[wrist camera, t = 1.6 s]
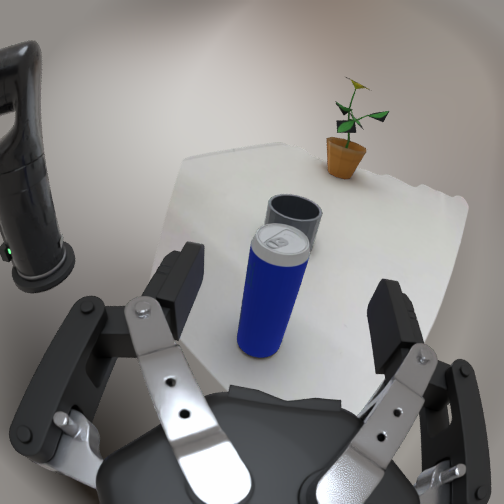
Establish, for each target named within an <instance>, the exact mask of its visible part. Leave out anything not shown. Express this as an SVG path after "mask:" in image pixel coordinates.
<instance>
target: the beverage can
mask: <svg viewBox="0 0 504 504" xmlns="http://www.w3.org/2000/svg"><path fill="white" fill-rule="evenodd" d="M309 256H310V248H309V240H308V238H307V237H306V235H305V234H304V233H303V232H301V231H300V230H298V229H296V228H294V227H292V226H289V225H285V224H277V223H273V224H266V225H264V226H261V227H260V228H259V229H258V230H257V232H256V234H255V236H254V237H253V239H252V241H251V246H250V253H249V260H248V266H247V273H246V280H245V286H244V293H243V300H242V307H241V313H240V320H239V327H238V333H237V342H238V345H239V347H240V348H241V349H242V350H243V351H244V352H245V353H247V354H248V355H250V356H253V357H258V358H263V357H268V356H271V355H273V354H274V353H276V352H277V350H278V349H279V347H280V345H281V342H282V339H283V336H284V333H285V330H286V327H287V324H288V321H289V318H290V315H291V313H292V310H293V306H294V303H295V300H296V297H297V294H298V291H299V288H300V285H301V282H302V279H303V275H304V272H305V269H306V266H307V263H308V259H309Z"/></svg>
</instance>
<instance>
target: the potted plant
mask: <svg viewBox="0 0 504 504" xmlns="http://www.w3.org/2000/svg"><path fill="white" fill-rule="evenodd" d="M351 81H352V83H353V85H354V87H355V91H356V89H360V88H366V87H364V86H363V85H361V84H358V83H357V82H355V81H353V80H351ZM366 89H368V88H366ZM354 94H355V92H354ZM354 94H353V96H352V99H351V103H352V100H353V97H354ZM351 103H350V106H349V108H346V107H343V106H342V105H340V104H339V103H337V102H336V105H337V106H339V108H340V110H341V112H342V113H343V115H345V114H347V113H348V120H347V121H346V120H343V121H337V133H348V140H345V139H340V138H335V137H330V138H327V160H328V161H327V162H328V172H329V173H330V174H331V175H333V176H335V177H338V178H342V179H350V178H351V176H352V174H353V173H354V171H355V170H356V168H357V166H358V164H359V163H360V161H361V160H362V158H363V156H364V155H365V153H366V148H364V147H362V146H361V145H359V144H357V143H354V142H351V141H350V133H356V127H355V122H356V123H357V124H358V125H359V126H360V127H361V128H362V126H361V124H360V122H359V121H358V120H360V119H362V118H364V117H366V116H369V117H372V118H374V119H376V120H379V121H382V122H384V120H385V118H386V116H387V114H388V113H389V111H385V112H378V113H373V114H370V115H366V116H364V117H361V118H359V119H356V118H355V117H354V116H353V114H351V116H352V118H353V120H352V119H349V116H350V111H351V112H352V109H350V107H351Z"/></svg>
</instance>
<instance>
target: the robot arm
mask: <svg viewBox="0 0 504 504" xmlns="http://www.w3.org/2000/svg"><path fill="white" fill-rule="evenodd" d="M41 78H42V54H41V49H40V46H39V45H38V43H37V42H36V41H32V40H31V41H26V42H21V43H18V44H15V45H11V46H8V47H5V48H2V49H0V116H2V115H5V114H8V113H11V112H15V122H14V125H13V127H12V128H11V129H10V130H9V132H8V133H7V134H6V135H4V136H3V137H2V138H1V139H0V232H1V235H2V238H3V241H4V243H3V244H2V245H1V246H0V255H1V257H2V260H3V261H6V262H10V261H12V264H13V266H14V269H16V270H17V272H18V274H19V276H20V277H21V278H22V279H24V280H26V281H31V282H34V281H40V280H43V279H46V278H48V277H50V276H52V275H53V274H55V273H56V272H57V271H58V270H59V269H60V268H61V267H62V266H63V265H64V263H65V261H66V257H67V253H66V249H65V247H64V245H63V234H62V235H61V234H60V230H59V226H58V222H57V218H56V213H55V210H54V205H53V201H52V195H51V190H50V185H49V179H48V173H47V168H46V161H45V154H44V147H43V137H42V125H41V124H42V123H41ZM203 275H204V244H199V243H193V242H188V241H187V242H186V244H185V245H184V247H183V249H182V251H181V252H179V251H172V252H171V253H169V254H168V255H167V256H165V258H164V259H163V261H162V262H161V264H160V266H159V267H158V269H157V271H156V273H155V274H154V275H153V277H152V279H151V280H150V282H149V284H148V285H147V287H146V289H145V291H144V292H143V294H142V296H140V297H136V298H134V299H132V300H130V301H129V302H128V303H127V305H126V306H105V305H104V303H103V301H102V300H101V299H100V298H98V297H96V296H86V297H83V298H81V299H79V300H78V301H77V302H76V303H75V304H74V305H73V307H72V308H71V310H70V312H69V314H68V315H67V316H66V318H65V320H64V322H63V323H62V325H61V326H60V328H59V330H58V331H57V333H56V335H55V337H54V339H53V340H52V342H51V344H50V346H49V347H48V349H47V351H46V353H45V354H44V356H43V358H42V360H41V362H40V364H39V366H38V368H37V370H36V372H35V374H34V375H33V377H32V380H31V382H30V384H29V386H28V388H27V390H26V392H25V394H24V396H23V399H22V401H21V403H20V405H19V407H18V410H17V412H16V414H15V417H14V419H13V421H12V424H11V426H10V431H9V438H10V441H11V444H12V446H13V447H14V449H15V450H16V451H17V452H18V453H20V454H21V455H23V456H25V457H27V458H29V459H30V460H31V461H32V462H34V463H36V464H38V465H40V466H42V467H44V468H46V469H48V470H51V471H54V472H56V473H59V474H61V475H67V476H69V477H71V478H73V479H75V480H77V481H79V482H81V483H84V484H86V485H89V486H91V487H93V488H96V489H97V493H98V497H99V501H100V504H487V503H488V501H489V498H490V495H491V471H490V458H489V449H488V440H487V432H486V426H485V420H484V414H483V408H482V404H481V398H480V394H479V389H478V385H477V381H476V377H475V373H474V370H473V368H472V366H471V365H470V364H469V363H468V362H467V361H465V360H462V359H457V360H455V361H454V362H453V363H452V364H451V365H449V364H446V363H444V362H441V361H439V360H437V356H436V353H435V352H434V350H433V349H432V348H431V347H429V346H428V345H426V344H424V341H423V337H422V334H421V331H420V327H419V324H418V321H417V320H416V319H417V317H416V314H415V313H414V308H413V305H412V302H411V301H410V299H409V298H408V297H407V295H406V294H404V293H402V291H401V288H400V285H399V282H398V281H393V280H388V279H382V280H381V281H380V282H379V284H378V286H377V288H376V290H375V292H374V294H373V296H372V298H371V300H370V302H369V304H368V309H367V317H368V323H369V329H370V336H371V342H372V349H373V357H374V364H375V372H376V374H385V379H384V380H383V382H382V383H381V384H380V386H379V387H378V389H377V390H376V392H375V393H374V394H373V396H372V397H371V399H370V400H369V401H368V403H367V404H366V405H365V407H364V408H363V409H362V410H361V412H360V413H359V414H358V415H357V416H356V415H354V414H353V413H351V412H350V411H347V410H345V409H343V408H341V400H333V399H322V398H310V399H302V400H293V401H285V400H282V399H280V398H277V397H274V396H272V395H269V394H267V393H264V392H262V391H260V390H256V389H250V388H244V387H239V386H234V385H230V387H229V392H219V393H213V394H209V395H206V396H204V395H203V393H202V391H201V389H200V388H199V385H198V383H197V381H196V379H195V377H194V375H193V373H192V371H191V369H190V367H189V364H188V362H187V360H186V358H185V356H184V354H183V351H182V349H181V347H180V346H179V345H177V344H176V343H175V340H177V341H179V338H180V336H181V333H182V331H183V328H184V326H185V323H186V321H187V318H188V316H189V313H190V311H191V308H192V306H193V303H194V301H195V299H196V296H197V294H198V291H199V289H200V286H201V284H202V280H203ZM118 357H128V358H130V357H132V358H137V359H138V362H139V365H140V368H141V371H142V374H143V377H144V380H145V383H146V386H147V389H148V391H149V394H150V397H151V399H152V402H153V405H154V407H155V410H156V412H157V415H158V417H159V419H160V422H161V424H160V425H158V426H157V427H155V428H153V429H152V430H150V431H148V432H147V433H145V434H144V435H142V436H140V437H139V438H137V439H135V440H134V441H132V442H130V443H129V444H127V445H125V446H124V447H122V448H120V449H118V450H117V451H115V452H113V453H112V454H110V455H109V456H108V457H107V458H105V459H104V460H103V459H102V457H101V455H100V452H99V443H100V436H99V432H98V430H97V429H96V427H95V426H94V425H92V421H93V419H94V416H95V413H96V410H97V408H98V405H99V402H100V400H101V397H102V394H103V392H104V389H105V387H106V384H107V382H108V379H109V377H110V374H111V372H112V370H113V367H114V365H115V362H116V360H117V358H118ZM449 403H450V406H451V413H452V421H451V424H450V425H449V417H448V409H447V405H448V404H449ZM418 414H419V416H420V429H421V451H422V473H421V474H420V475H419V476H418V478H417V482H416V483H415V484H414V485H412V484H411V483H410V481H409V480H408V479H407V478H406V476H405V475H404V474H403V473H402V471H401V470H400V469H399V467H398V466H397V465H396V464H395V463H394V461H393V460H392V458H393V456H394V455H395V453H396V452H397V450H398V449H399V447H400V445H401V444H402V442H403V440H404V439H405V437H406V435H407V434H408V432H409V430H410V428H411V427H412V425H413V423H414V421H415V419H416V417H417V416H418Z"/></svg>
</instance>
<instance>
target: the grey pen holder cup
mask: <svg viewBox="0 0 504 504" xmlns="http://www.w3.org/2000/svg"><path fill="white" fill-rule="evenodd" d="M321 217H322V210H321V208H320V207H319V206H318V205H317V204H316V203H314V202H313V201H311V200H309V199H307V198H304V197H301V196H297V195H291V194H280V195H275V196H273V197H271V198H270V199H269V201H268V206H267V212H266V218H265V223H264V225H266V224H273V223H277V224H285V225H289V226H292V227H294V228H296V229H298V230H300V231H301V232H303V233H304V234H305V235H306V237H307V238H308V240H309V248H310V252H311V250H312V247H313V244H314V241H315V238H316V234H317V231H318V228H319V224H320V221H321Z"/></svg>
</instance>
